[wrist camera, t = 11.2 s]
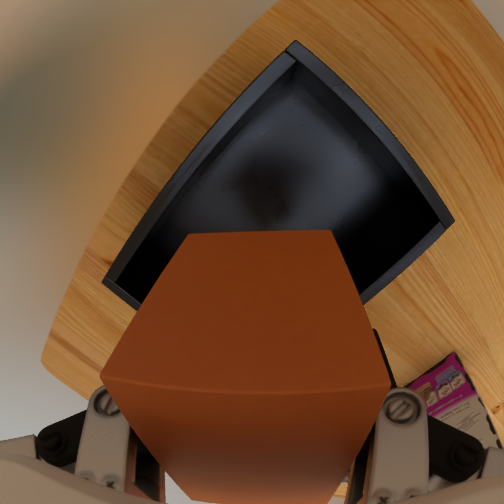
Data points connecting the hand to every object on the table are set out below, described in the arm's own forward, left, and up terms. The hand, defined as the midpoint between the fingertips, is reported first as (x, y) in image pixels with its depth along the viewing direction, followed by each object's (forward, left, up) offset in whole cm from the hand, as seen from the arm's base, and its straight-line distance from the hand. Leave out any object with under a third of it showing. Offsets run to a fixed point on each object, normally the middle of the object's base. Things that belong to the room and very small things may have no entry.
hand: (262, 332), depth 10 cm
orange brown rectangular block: (0, 0, -1) cm, 1 cm away
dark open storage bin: (0, 0, -13) cm, 13 cm away
